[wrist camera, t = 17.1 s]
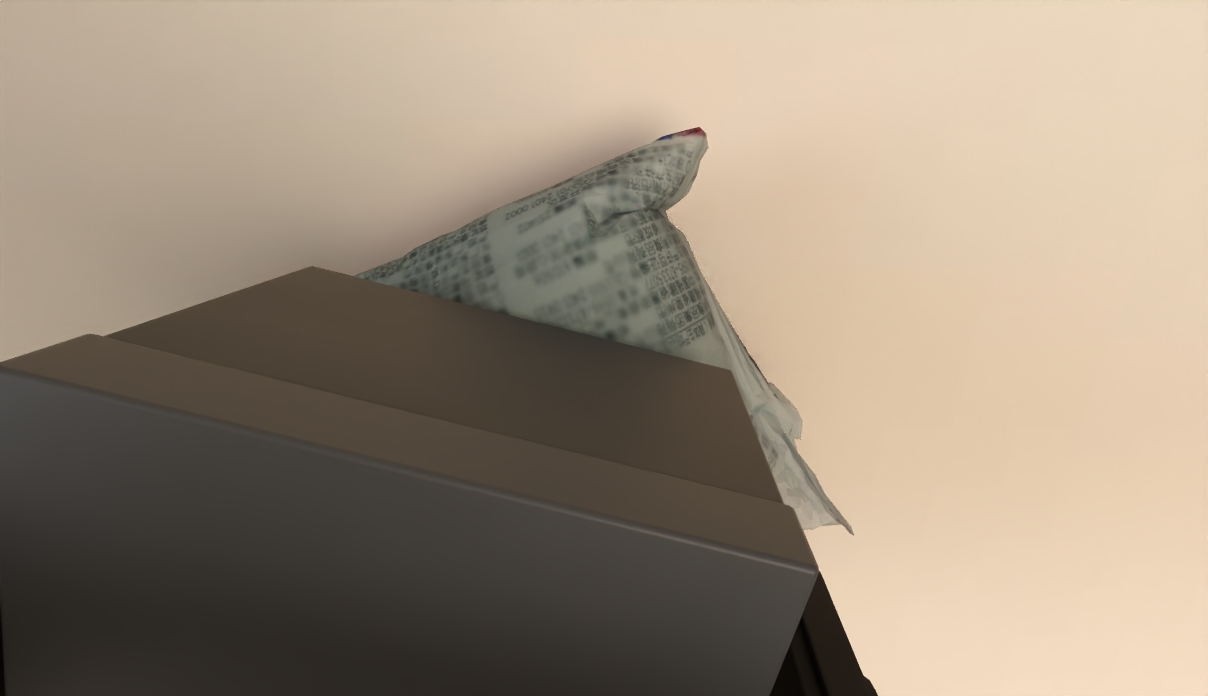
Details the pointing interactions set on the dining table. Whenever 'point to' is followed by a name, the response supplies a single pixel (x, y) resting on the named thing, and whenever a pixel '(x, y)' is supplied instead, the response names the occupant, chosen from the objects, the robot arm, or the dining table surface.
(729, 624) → the charcoal box
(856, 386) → the dining table surface
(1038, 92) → the dining table surface
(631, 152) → the packaged food
